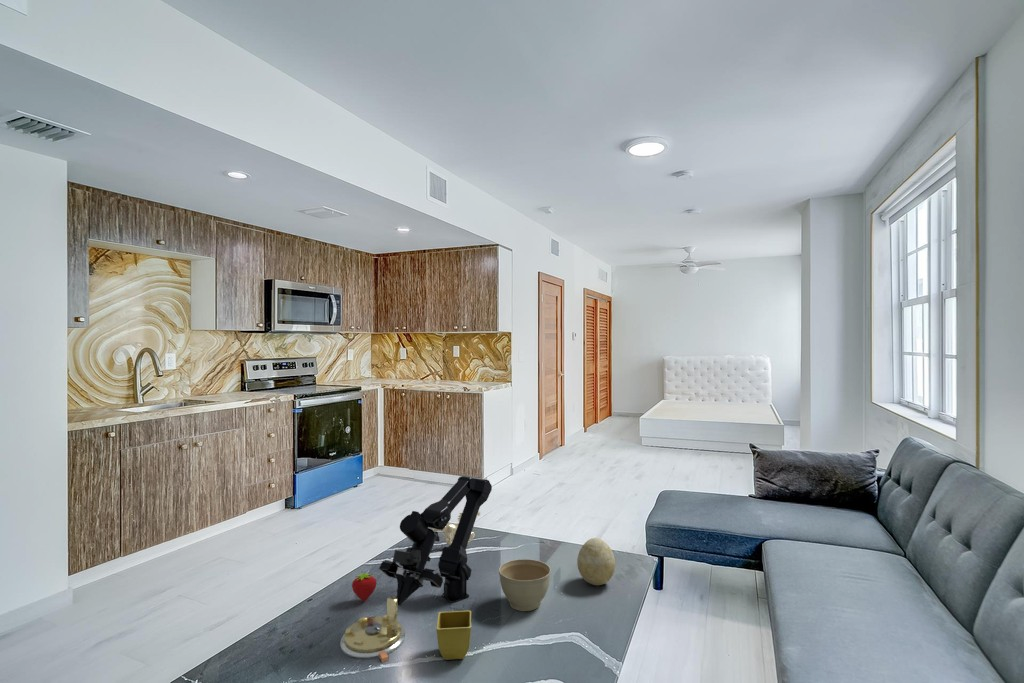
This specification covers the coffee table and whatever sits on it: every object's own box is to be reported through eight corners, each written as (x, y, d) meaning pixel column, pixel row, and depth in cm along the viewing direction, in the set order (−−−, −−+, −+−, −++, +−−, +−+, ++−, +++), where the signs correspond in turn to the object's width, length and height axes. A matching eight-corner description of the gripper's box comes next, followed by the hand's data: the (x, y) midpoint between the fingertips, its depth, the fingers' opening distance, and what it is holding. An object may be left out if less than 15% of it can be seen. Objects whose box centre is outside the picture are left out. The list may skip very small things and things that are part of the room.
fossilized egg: (573, 588, 167) (572, 542, 168) (582, 572, 179) (582, 530, 179) (611, 595, 163) (611, 548, 163) (618, 578, 174) (618, 534, 175)
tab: (378, 656, 130) (378, 652, 130) (384, 654, 131) (385, 650, 131) (382, 662, 128) (382, 658, 128) (388, 660, 128) (388, 656, 129)
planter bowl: (558, 597, 161) (558, 563, 161) (539, 622, 146) (539, 584, 146) (512, 588, 168) (512, 555, 168) (490, 610, 153) (489, 574, 153)
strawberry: (376, 604, 157) (376, 572, 157) (350, 607, 155) (350, 574, 155) (377, 595, 163) (377, 564, 163) (352, 598, 161) (352, 566, 161)
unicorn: (433, 553, 197) (433, 509, 197) (431, 549, 201) (430, 506, 201) (482, 546, 204) (482, 503, 204) (479, 542, 208) (479, 500, 208)
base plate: (390, 617, 150) (390, 605, 150) (415, 644, 136) (415, 630, 136) (332, 636, 140) (332, 623, 140) (352, 667, 126) (352, 653, 126)
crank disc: (332, 646, 133) (332, 603, 133) (366, 618, 147) (366, 579, 147) (380, 657, 128) (381, 613, 128) (411, 627, 142) (411, 587, 142)
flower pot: (438, 645, 135) (438, 611, 135) (471, 643, 136) (471, 609, 136) (436, 665, 126) (436, 629, 127) (471, 663, 127) (471, 627, 127)
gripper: (382, 532, 146) (355, 587, 136) (435, 541, 138) (411, 600, 128) (400, 549, 153) (376, 602, 143) (452, 558, 145) (430, 616, 135)
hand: (397, 605), depth 137 cm, fingers closed, pressing on crank disc
